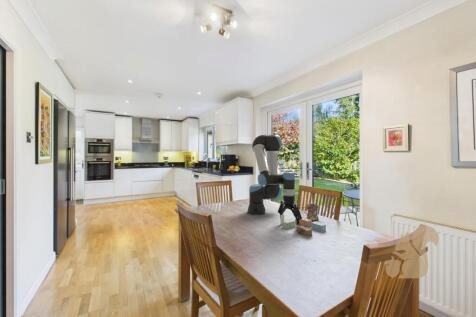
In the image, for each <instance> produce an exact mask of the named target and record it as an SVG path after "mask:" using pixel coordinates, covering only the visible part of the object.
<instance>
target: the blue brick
mask: <svg viewBox="0 0 476 317" xmlns="http://www.w3.org/2000/svg"><path fill="white" fill-rule="evenodd" d="M326 226H327V224H325V223H322V222H319V221H312V223H311V226H310V229H312V230H316V231H318V232H322V233H323V232H325V231H326V230H327V227H326Z"/></svg>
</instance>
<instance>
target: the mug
mask: <svg viewBox="0 0 476 317" xmlns="http://www.w3.org/2000/svg"><path fill="white" fill-rule="evenodd" d="M319 207H320V205H319V204H317V203H307V204H306V205H305V206H303V207H302V211H303V213H304V214H306V219H309V220H312V221H319V216H318V210H319V209H320V208H319ZM305 208H306V210H307V212H305V210H304V209H305Z"/></svg>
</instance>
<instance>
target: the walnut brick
mask: <svg viewBox="0 0 476 317" xmlns="http://www.w3.org/2000/svg"><path fill="white" fill-rule="evenodd" d="M296 233H297V234H299V235H301V236H303V237H307V238H310V237H312V236H313V229H311V227H310V228H309V227H306V226H304V225H299V227H297V230H296Z"/></svg>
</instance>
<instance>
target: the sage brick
mask: <svg viewBox="0 0 476 317" xmlns="http://www.w3.org/2000/svg"><path fill="white" fill-rule="evenodd" d="M282 228H284V229H286V230H288V229H292V228H295V219H287V220H284V221H283V224H282Z"/></svg>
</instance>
